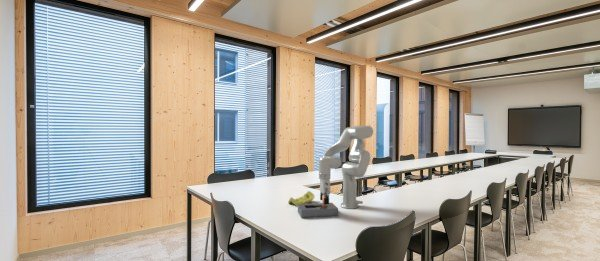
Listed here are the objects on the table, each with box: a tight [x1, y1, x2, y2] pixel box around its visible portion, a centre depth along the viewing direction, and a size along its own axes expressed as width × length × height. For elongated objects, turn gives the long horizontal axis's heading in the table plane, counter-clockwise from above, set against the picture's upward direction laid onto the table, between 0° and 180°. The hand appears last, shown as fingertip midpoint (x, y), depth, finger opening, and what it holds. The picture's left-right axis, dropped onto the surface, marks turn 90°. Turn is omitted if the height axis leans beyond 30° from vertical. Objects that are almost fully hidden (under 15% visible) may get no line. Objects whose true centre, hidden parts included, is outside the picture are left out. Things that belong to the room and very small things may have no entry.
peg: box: [321, 195, 327, 207], centre depth 187 cm, size 5×5×11 cm
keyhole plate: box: [297, 202, 339, 219], centre depth 186 cm, size 24×14×5 cm, turn 100°
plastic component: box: [288, 190, 316, 208], centre depth 212 cm, size 20×7×10 cm
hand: (324, 202), depth 187 cm, fingers open, 9 cm apart
